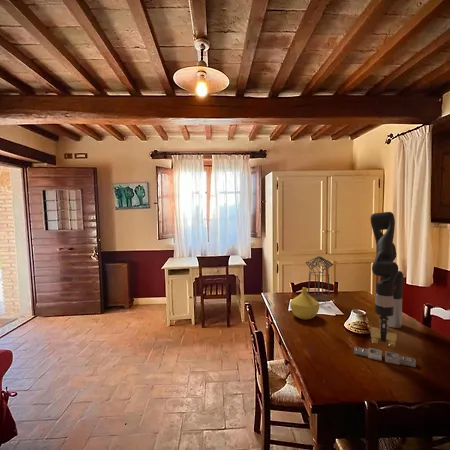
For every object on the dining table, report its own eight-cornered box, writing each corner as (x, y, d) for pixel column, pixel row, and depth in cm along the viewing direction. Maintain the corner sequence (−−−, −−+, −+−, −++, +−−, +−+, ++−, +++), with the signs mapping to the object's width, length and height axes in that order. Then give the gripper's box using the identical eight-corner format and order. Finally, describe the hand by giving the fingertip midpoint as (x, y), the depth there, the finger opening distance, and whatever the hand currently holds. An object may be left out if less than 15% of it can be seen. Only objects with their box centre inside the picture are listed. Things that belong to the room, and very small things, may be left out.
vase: (315, 312, 194) (315, 284, 193) (322, 322, 175) (322, 292, 174) (288, 311, 195) (288, 284, 194) (292, 321, 177) (292, 291, 176)
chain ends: (354, 349, 142) (354, 344, 141) (414, 362, 129) (414, 356, 129) (353, 354, 137) (353, 349, 137) (415, 368, 125) (416, 362, 124)
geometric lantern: (303, 300, 218) (304, 255, 216) (321, 298, 223) (321, 254, 221) (316, 307, 203) (316, 258, 201) (334, 304, 208) (335, 257, 206)
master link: (370, 340, 137) (371, 326, 136) (395, 345, 131) (396, 331, 131) (370, 342, 134) (370, 329, 134) (396, 347, 129) (396, 333, 129)
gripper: (375, 298, 140) (374, 332, 141) (374, 307, 127) (373, 344, 128) (393, 300, 136) (392, 335, 137) (394, 309, 124) (393, 348, 125)
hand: (383, 339), depth 133 cm, fingers closed on master link, 3 cm apart
